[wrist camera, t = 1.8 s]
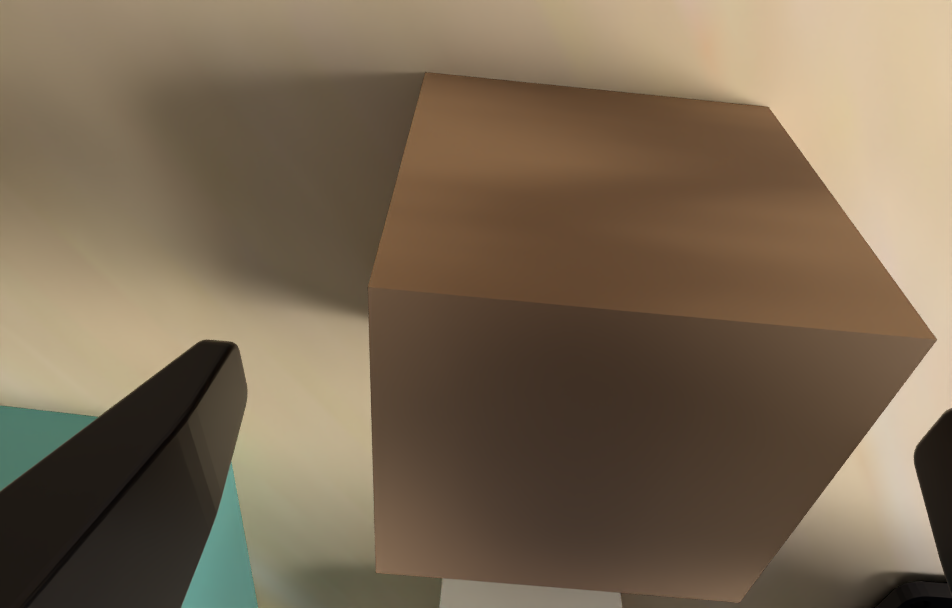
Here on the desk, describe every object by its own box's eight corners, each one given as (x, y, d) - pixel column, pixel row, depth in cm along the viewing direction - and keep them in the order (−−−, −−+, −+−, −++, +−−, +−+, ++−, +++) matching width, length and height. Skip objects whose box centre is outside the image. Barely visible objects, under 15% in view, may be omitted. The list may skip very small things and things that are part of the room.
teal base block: (229, 422, 15) (135, 647, 11) (263, 614, 22) (209, 800, 18) (-222, 369, 15) (-483, 587, 11) (-50, 583, 21) (-175, 767, 17)
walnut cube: (766, 105, 10) (936, 340, 6) (671, 348, 13) (739, 603, 9) (426, 70, 9) (367, 287, 6) (416, 325, 13) (375, 573, 9)
